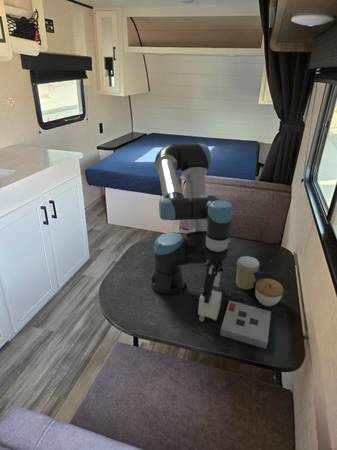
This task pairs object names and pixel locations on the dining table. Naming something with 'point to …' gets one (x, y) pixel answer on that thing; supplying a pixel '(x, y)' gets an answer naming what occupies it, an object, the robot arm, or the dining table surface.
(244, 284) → the coffee cup
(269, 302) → the lidded jar
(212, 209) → the robot arm
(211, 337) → the dining table surface
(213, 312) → the plug
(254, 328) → the socket
